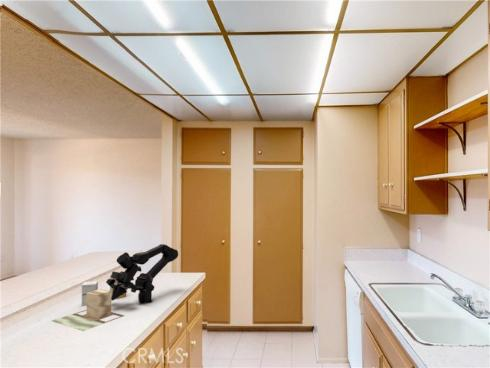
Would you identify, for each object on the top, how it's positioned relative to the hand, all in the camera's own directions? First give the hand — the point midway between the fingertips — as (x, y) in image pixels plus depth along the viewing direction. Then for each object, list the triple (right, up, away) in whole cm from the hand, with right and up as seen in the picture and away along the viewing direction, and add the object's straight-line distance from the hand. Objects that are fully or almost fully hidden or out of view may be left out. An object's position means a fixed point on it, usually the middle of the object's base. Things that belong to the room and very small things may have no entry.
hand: (111, 300), depth 175 cm
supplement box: (-17, -8, +12) cm, 22 cm away
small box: (-7, -8, +29) cm, 31 cm away
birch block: (-4, -5, -6) cm, 9 cm away
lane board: (-7, -6, -11) cm, 14 cm away
